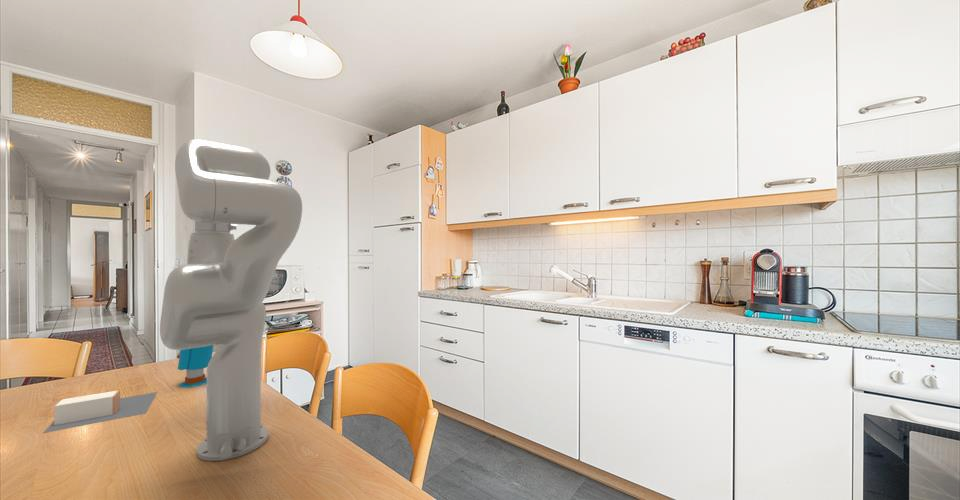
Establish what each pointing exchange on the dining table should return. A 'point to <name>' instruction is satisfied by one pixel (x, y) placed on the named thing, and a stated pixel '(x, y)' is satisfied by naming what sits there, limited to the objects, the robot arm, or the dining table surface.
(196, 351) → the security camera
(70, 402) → the block
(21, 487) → the dining table surface
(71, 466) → the dining table surface
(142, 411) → the mat
